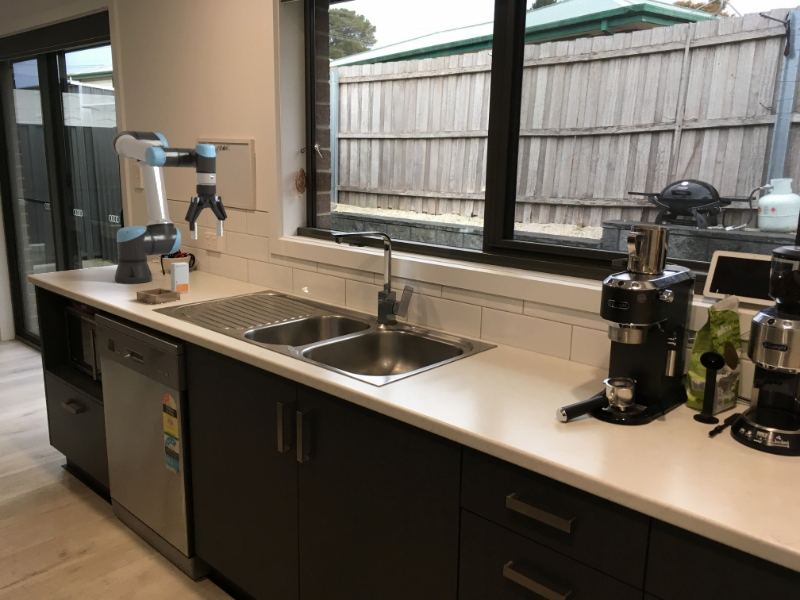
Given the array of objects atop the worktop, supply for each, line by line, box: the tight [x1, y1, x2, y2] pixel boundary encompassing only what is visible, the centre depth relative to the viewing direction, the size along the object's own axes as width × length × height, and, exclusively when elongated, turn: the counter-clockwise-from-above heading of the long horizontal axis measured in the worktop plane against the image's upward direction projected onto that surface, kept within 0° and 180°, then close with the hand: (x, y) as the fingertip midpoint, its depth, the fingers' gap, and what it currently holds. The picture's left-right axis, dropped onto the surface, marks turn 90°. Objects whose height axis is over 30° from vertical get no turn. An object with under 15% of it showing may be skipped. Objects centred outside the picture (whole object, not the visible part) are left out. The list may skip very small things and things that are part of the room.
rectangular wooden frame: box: [136, 287, 181, 305], centre depth 243 cm, size 11×11×3 cm
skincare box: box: [170, 261, 190, 294], centre depth 257 cm, size 6×4×12 cm
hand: (207, 237), depth 257 cm, fingers open, 13 cm apart
